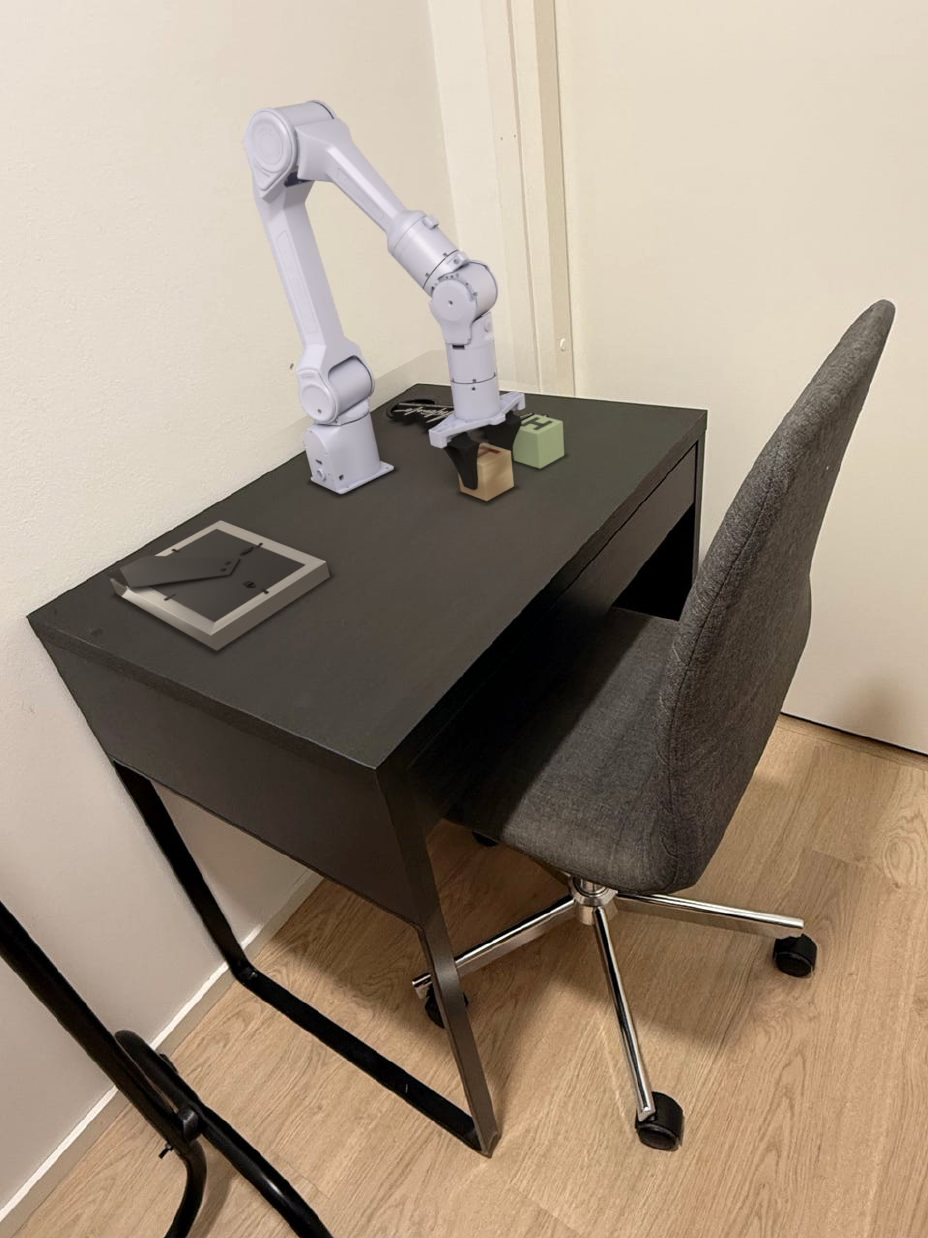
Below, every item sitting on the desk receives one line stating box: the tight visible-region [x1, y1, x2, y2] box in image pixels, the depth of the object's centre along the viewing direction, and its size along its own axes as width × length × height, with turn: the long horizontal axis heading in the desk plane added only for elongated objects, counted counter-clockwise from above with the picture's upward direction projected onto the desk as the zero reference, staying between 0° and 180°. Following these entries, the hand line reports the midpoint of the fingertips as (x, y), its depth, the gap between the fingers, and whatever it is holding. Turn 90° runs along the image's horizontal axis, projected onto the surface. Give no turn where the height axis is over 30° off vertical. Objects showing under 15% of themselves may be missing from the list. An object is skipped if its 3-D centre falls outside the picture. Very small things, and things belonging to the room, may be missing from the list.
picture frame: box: [107, 520, 331, 652], centre depth 86 cm, size 16×3×21 cm
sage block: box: [512, 413, 565, 469], centre depth 103 cm, size 5×5×5 cm
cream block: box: [457, 442, 515, 502], centre depth 96 cm, size 5×5×5 cm
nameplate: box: [391, 401, 550, 439], centre depth 118 cm, size 28×2×10 cm
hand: (485, 479), depth 97 cm, fingers closed on cream block, 5 cm apart
